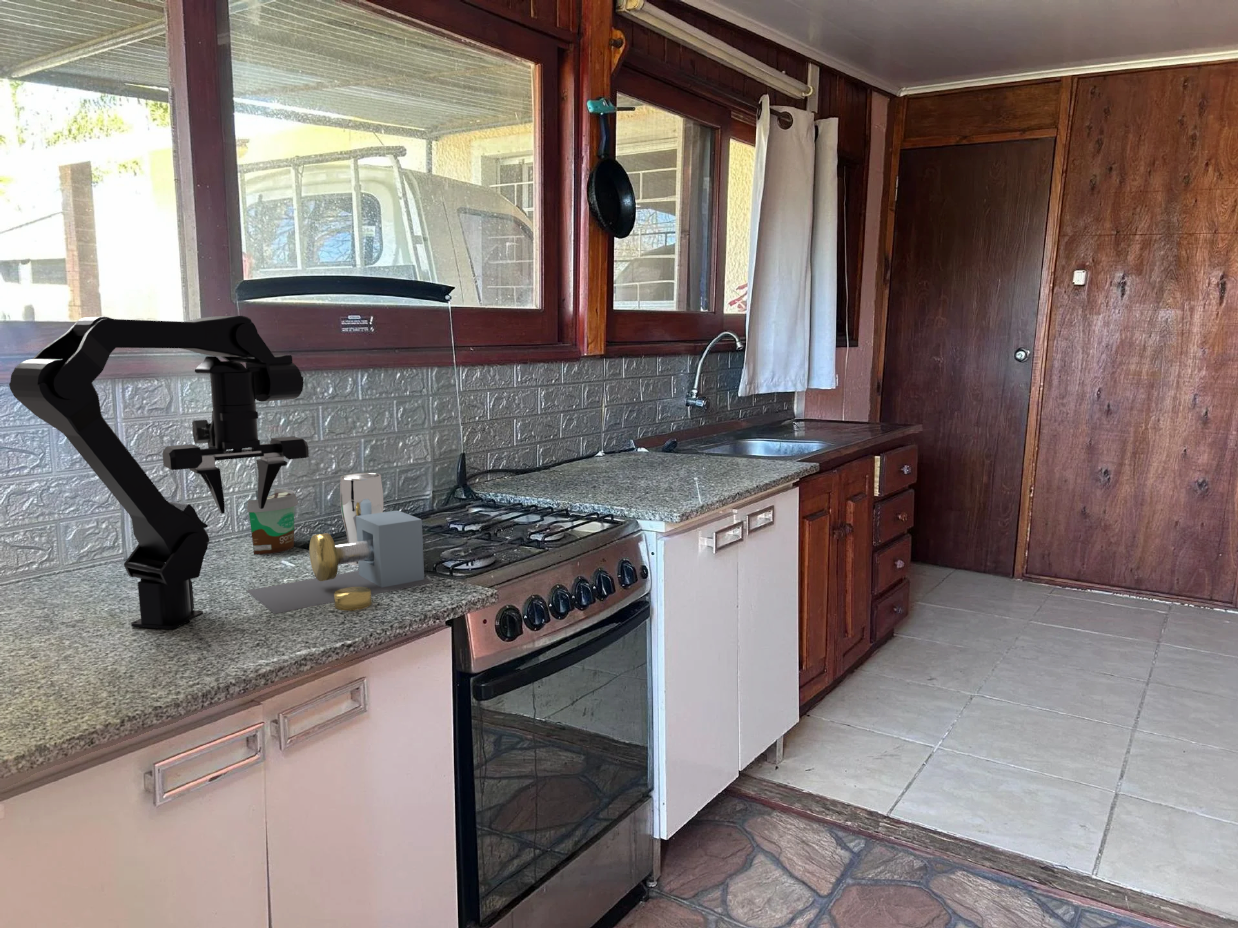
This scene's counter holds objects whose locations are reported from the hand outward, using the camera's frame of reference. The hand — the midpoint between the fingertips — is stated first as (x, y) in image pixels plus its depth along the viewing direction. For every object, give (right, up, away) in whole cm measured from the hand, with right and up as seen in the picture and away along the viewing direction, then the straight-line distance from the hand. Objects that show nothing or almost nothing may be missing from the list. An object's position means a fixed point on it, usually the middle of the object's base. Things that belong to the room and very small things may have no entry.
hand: (242, 510), depth 127 cm
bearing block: (+19, -11, +10) cm, 24 cm away
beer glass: (+12, -10, +21) cm, 26 cm away
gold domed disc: (+17, -14, -3) cm, 22 cm away
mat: (+13, -12, +6) cm, 18 cm away
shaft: (+16, -10, +8) cm, 20 cm away
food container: (-6, -9, +31) cm, 33 cm away
